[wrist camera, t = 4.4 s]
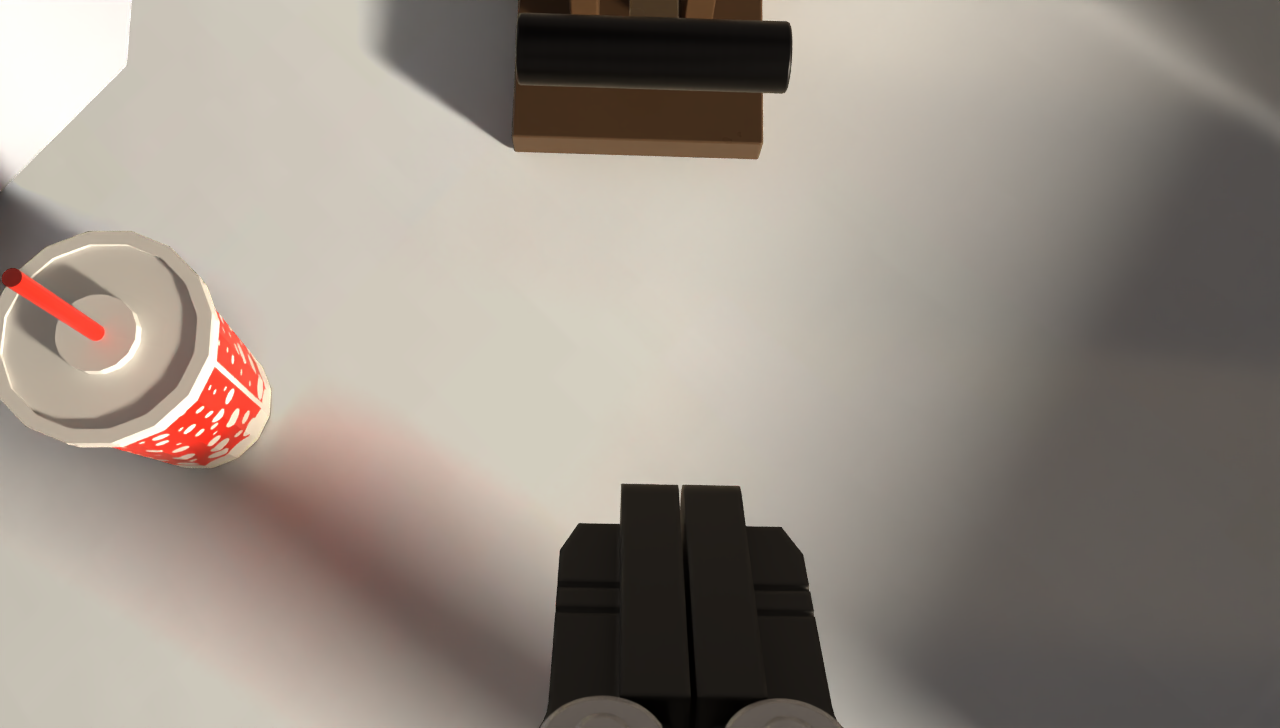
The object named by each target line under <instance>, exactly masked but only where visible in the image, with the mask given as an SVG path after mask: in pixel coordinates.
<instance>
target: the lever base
mask: <svg viewBox="0 0 1280 728" xmlns="http://www.w3.org/2000/svg"><path fill="white" fill-rule="evenodd" d="M678 11H679V18H699V19H728V20H758V21H762V0H678ZM519 13H551V14H580V15H610V16H629V0H518V15H519ZM517 18H518V16H517ZM512 140H513V146H514V150H515V151H516V152H544V153H576V154H608V155H641V156H673V157H705V158H738V159H758V157H759V154H760V151H761V148H762V145H763V93H750V92H719V91H688V90H657V89H626V88H595V87H564V86H533V85H520V84H518V81H517V76H516V57H515V77H514V98H513V118H512Z"/></svg>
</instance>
